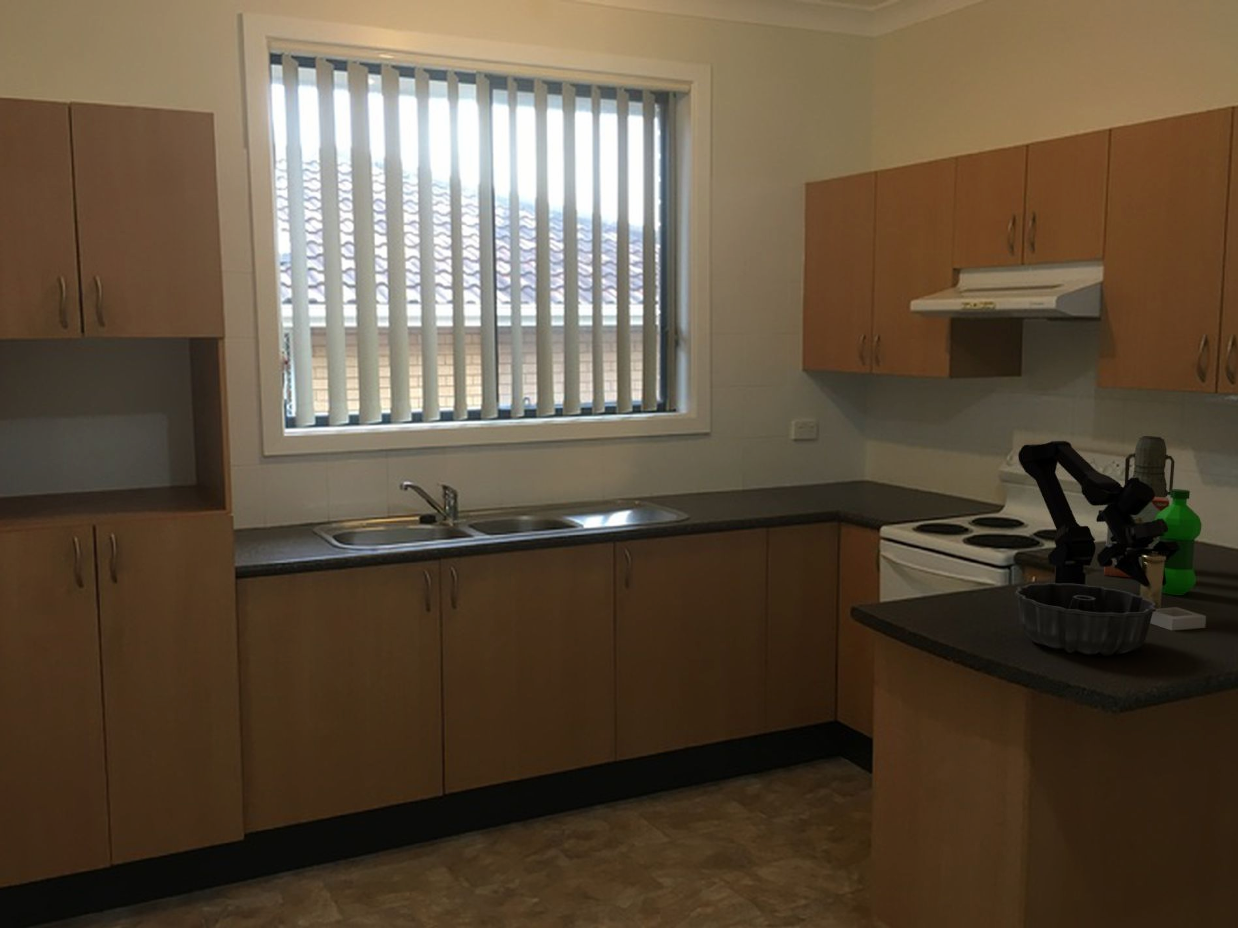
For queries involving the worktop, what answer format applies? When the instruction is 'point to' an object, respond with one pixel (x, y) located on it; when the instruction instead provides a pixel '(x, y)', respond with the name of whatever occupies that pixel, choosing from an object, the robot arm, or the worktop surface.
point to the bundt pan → (1084, 617)
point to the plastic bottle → (1180, 543)
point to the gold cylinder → (1153, 577)
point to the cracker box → (1144, 516)
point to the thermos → (1151, 464)
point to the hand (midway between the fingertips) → (1156, 585)
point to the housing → (1177, 619)
